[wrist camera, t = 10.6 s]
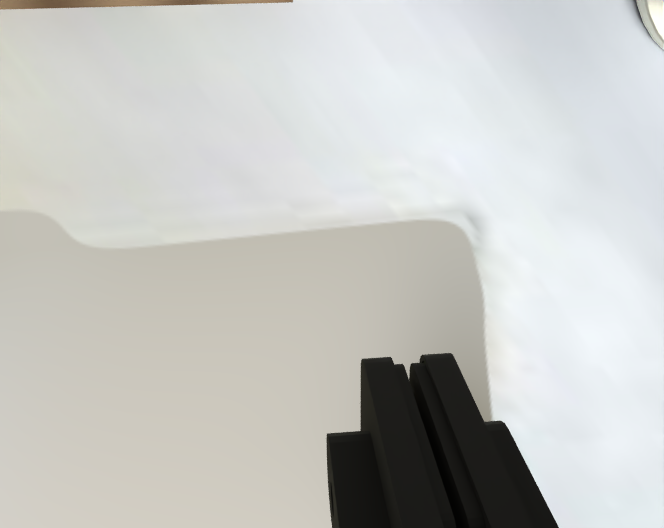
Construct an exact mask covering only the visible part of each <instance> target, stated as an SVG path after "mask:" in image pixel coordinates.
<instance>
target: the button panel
mask: <svg viewBox="0 0 664 528" xmlns="http://www.w3.org/2000/svg"><path fill="white" fill-rule="evenodd" d="M282 2H293V0H0V9H36V8H77V7H118V6H159V5H200V4H241V3H282Z"/></svg>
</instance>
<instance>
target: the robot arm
mask: <svg viewBox="0 0 664 528" xmlns="http://www.w3.org/2000/svg"><path fill="white" fill-rule="evenodd" d="M636 1H637V6H638V9H639V12H640V15H641V18H642V21H643V23H644V25H645V27H646V28H647V30H648V32H649V33H650V35H651V37H652V38H653V40H654V41H655V42H656V43H657V44H658V45H659V46H660V47H661V48H662V49H663V50H664V0H636ZM327 467H328V468H327V470H328V487H329V500H330V511H331V521H332V528H559V527H558V525H557V523H556V521H555V519H554V517H553V515H552V513H551V512H550V510H549V508H548V506H547V504H546V502H545V500H544V498H543V496H542V494H541V492H540V490H539V488H538V486H537V484H536V482H535V480H534V478H533V476H532V474H531V472H530V470H529V468H528V466H527V465H526V463H525V461H524V459H523V457H522V455H521V453H520V451H519V449H518V447H517V445H516V443H515V441H514V439H513V437H512V435H511V433H510V431H509V429H508V428H507V426H506V425H505V423H503V422H502V421H490V422H484V420H483V418H482V416H481V414H480V412H479V410H478V408H477V405H476V403H475V401H474V399H473V397H472V395H471V393H470V390H469V388H468V386H467V384H466V382H465V380H464V378H463V375H462V373H461V371H460V369H459V367H458V365H457V362H456V360H455V358H454V356H453V355H452V354H451V353H444V354H428V355H422V356H421V358H420V363H412V364H411V366H410V378H409V379H408V376H407V373H406V370H405V367H404V365H403V364H396V365H394V363H393V360H392V358H391V357H383V358H368V359H362V360H361V431H356V432H343V433H331V434H327Z"/></svg>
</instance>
